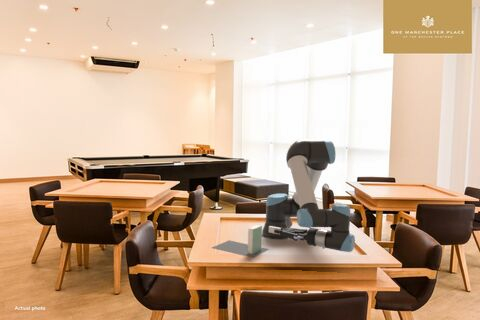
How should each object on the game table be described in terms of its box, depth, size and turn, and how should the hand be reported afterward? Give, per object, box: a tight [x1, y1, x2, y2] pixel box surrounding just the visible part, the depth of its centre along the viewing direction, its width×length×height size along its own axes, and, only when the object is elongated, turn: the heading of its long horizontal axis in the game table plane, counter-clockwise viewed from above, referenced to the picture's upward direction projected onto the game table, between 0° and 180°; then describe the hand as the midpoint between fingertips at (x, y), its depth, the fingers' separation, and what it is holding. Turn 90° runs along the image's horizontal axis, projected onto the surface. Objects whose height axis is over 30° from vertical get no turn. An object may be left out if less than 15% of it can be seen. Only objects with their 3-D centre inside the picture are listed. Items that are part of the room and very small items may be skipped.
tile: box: [247, 224, 263, 254], centre depth 179 cm, size 3×8×12 cm, turn 148°
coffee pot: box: [258, 202, 293, 228], centre depth 228 cm, size 21×12×15 cm, turn 87°
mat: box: [211, 240, 270, 259], centre depth 184 cm, size 24×16×1 cm, turn 58°
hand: (269, 229), depth 174 cm, fingers closed
